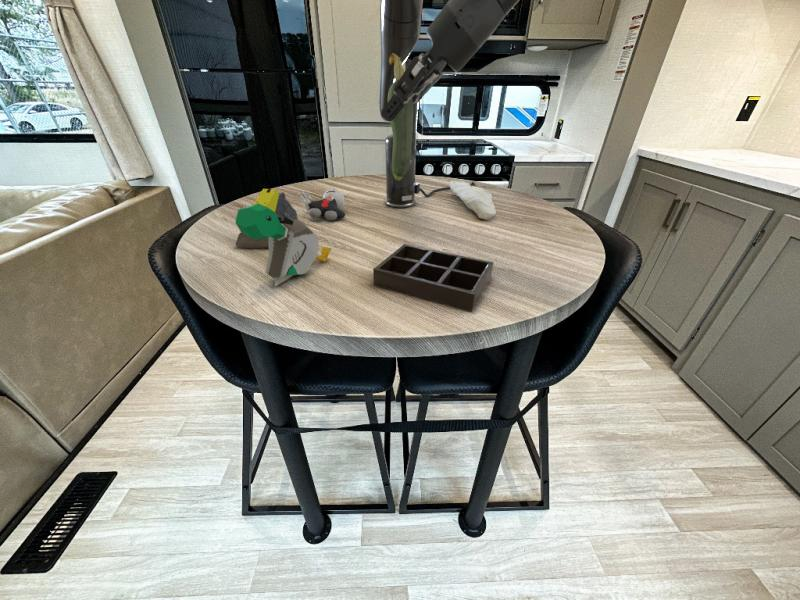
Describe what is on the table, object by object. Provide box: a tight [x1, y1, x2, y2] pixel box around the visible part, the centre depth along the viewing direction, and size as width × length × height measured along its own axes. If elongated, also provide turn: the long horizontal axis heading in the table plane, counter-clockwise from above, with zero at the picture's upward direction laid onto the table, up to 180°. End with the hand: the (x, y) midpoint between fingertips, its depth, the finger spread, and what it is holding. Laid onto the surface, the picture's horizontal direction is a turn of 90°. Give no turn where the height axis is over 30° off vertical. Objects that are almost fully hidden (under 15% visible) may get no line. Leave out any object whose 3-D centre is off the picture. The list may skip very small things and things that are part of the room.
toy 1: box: [234, 188, 332, 288], centre depth 63 cm, size 6×17×20 cm
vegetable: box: [388, 53, 413, 181], centre depth 58 cm, size 4×4×20 cm
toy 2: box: [297, 188, 346, 221], centre depth 97 cm, size 15×7×15 cm
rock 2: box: [448, 180, 497, 220], centre depth 104 cm, size 14×5×30 cm
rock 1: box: [235, 191, 299, 249], centre depth 79 cm, size 11×11×15 cm
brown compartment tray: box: [372, 243, 494, 312], centre depth 63 cm, size 13×20×4 cm
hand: (390, 116), depth 57 cm, fingers closed on vegetable, 4 cm apart
